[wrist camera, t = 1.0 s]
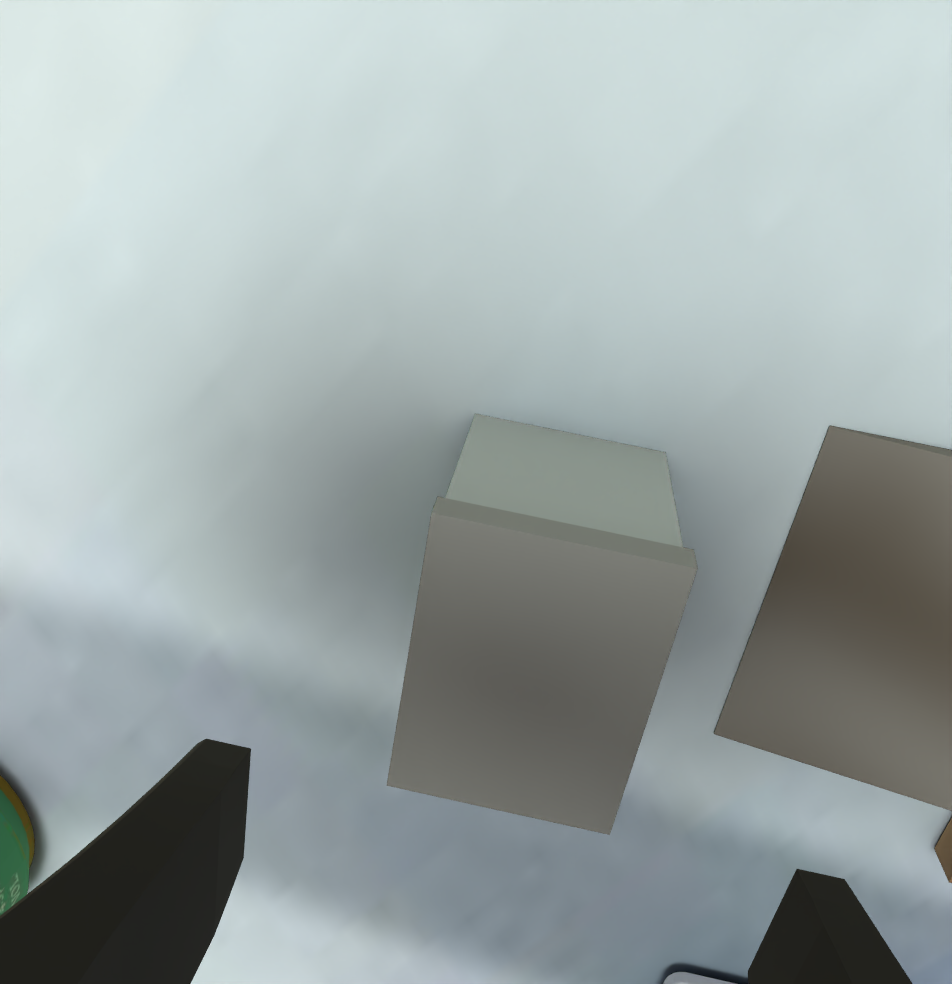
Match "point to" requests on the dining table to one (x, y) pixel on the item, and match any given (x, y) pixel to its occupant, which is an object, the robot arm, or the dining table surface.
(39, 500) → the dining table surface
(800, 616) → the dock
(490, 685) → the grey lidded box
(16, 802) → the beverage can
